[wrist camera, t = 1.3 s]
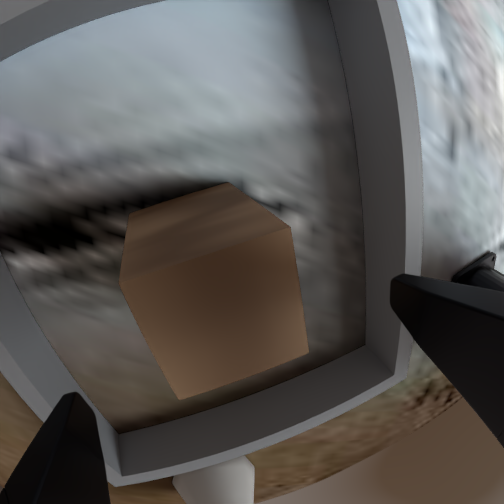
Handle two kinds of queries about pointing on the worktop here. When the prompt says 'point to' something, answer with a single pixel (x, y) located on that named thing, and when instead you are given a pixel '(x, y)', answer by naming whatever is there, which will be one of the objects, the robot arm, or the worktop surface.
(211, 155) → the worktop surface
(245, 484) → the flask
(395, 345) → the grey rimmed tray
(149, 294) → the walnut block
